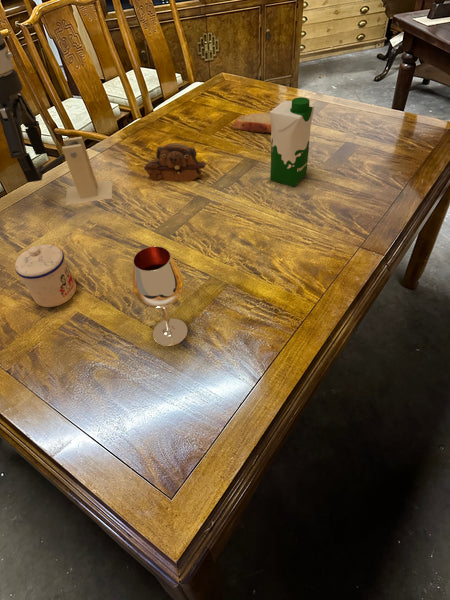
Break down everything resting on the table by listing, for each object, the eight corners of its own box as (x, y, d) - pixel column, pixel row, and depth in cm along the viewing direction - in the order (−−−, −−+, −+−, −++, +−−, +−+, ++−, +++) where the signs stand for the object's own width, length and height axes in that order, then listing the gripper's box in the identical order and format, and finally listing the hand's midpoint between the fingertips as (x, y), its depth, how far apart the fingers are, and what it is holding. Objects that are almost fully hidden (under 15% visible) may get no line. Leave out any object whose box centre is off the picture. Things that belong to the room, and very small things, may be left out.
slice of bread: (229, 125, 134) (228, 113, 131) (276, 110, 139) (277, 99, 136) (258, 147, 123) (258, 134, 120) (309, 130, 128) (310, 118, 125)
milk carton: (295, 189, 106) (301, 110, 91) (264, 180, 110) (265, 102, 95) (311, 173, 111) (318, 95, 96) (281, 165, 114) (284, 89, 100)
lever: (40, 183, 103) (32, 176, 101) (42, 173, 106) (35, 166, 104) (82, 155, 99) (74, 147, 98) (83, 145, 103) (76, 137, 101)
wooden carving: (146, 187, 111) (138, 152, 104) (149, 178, 114) (141, 143, 107) (207, 185, 110) (204, 149, 103) (208, 176, 113) (205, 140, 106)
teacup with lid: (75, 305, 83) (54, 261, 74) (29, 312, 82) (2, 268, 74) (81, 265, 91) (63, 221, 83) (39, 271, 91) (16, 227, 82)
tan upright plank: (66, 209, 107) (44, 155, 96) (68, 190, 113) (48, 137, 102) (113, 201, 108) (96, 147, 97) (113, 183, 114) (97, 130, 103)
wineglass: (170, 309, 80) (152, 234, 67) (201, 328, 77) (189, 253, 64) (139, 336, 76) (113, 262, 63) (170, 358, 73) (151, 284, 59)
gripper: (4, 92, 78) (47, 191, 94) (24, 52, 95) (58, 141, 111) (-37, 98, 78) (13, 196, 93) (-9, 56, 95) (29, 145, 110)
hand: (38, 166), depth 102 cm, fingers open, 13 cm apart
